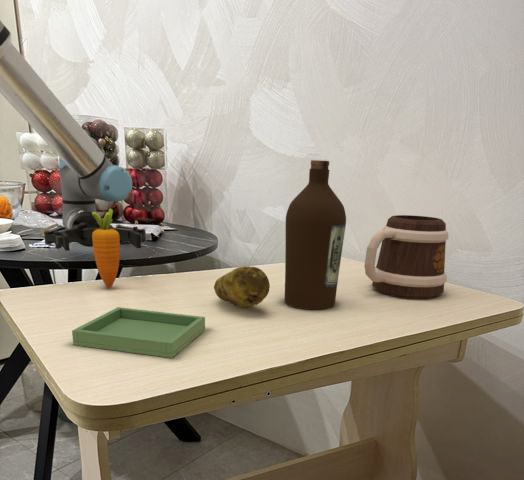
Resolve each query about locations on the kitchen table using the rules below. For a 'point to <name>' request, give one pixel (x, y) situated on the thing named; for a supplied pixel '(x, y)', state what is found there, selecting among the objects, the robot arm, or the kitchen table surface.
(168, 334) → the green tray
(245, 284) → the potato
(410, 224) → the mug
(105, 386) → the kitchen table surface
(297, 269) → the olive oil
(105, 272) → the carrot
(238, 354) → the kitchen table surface
